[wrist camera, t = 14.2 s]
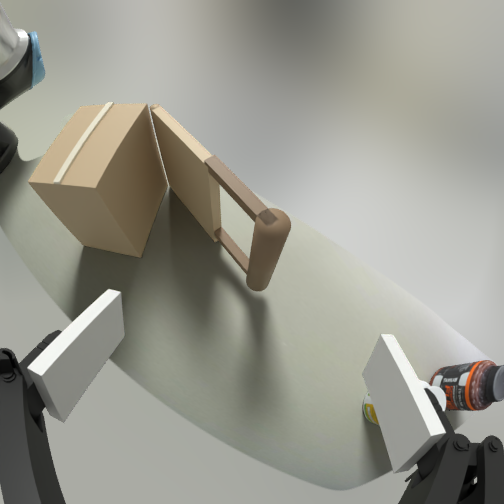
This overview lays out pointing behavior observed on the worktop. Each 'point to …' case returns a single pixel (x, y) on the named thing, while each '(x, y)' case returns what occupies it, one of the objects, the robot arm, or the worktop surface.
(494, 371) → the supplement bottle
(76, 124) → the carton
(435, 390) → the supplement bottle
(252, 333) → the worktop surface
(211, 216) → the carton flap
